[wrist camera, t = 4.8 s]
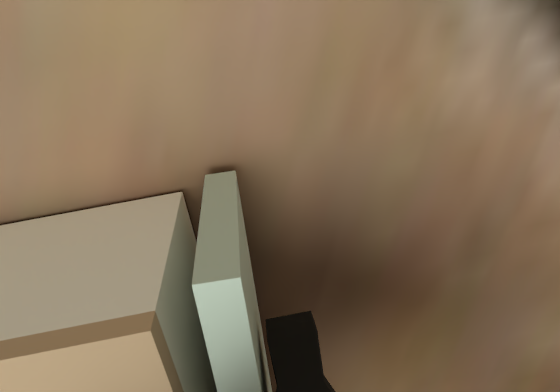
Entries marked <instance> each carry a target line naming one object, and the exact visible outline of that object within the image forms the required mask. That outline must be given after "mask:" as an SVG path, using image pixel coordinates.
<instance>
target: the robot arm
mask: <svg viewBox="0 0 560 392" xmlns="http://www.w3.org/2000/svg"><path fill="white" fill-rule="evenodd" d="M266 331H267V341H268V346H269V351H270V355H271V360H272V365H273V369H274V374H275V378H276V383H277V389H276V392H335V391H334V389H333V388H332V386H331V385H330V383H329V382H328V381H327V379H326V378H325V376H324V374H323V367H322V361H321V354H320V347H319V340H318V334H317V329H316V325H315V322H314V319H313V316H312V313H311V311H307V312H302V313H297V314H292V315H287V316H282V317H276V318H271V319H266Z"/></svg>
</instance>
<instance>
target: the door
mask: <svg viewBox="0 0 560 392" xmlns="http://www.w3.org/2000/svg"><path fill="white" fill-rule="evenodd" d="M192 289H193V293H194V297H195V301H196V305H197V310H198V314H199V318H200V322H201V326H202V330H203V334H204V339H205V343H206V347H207V351H208V355H209V359H210V363H211V368H212V372H213V376H214V380H215V384H216V388H217V392H272V387H271V381H270V375H269V369H268V363H267V357H266V351H265V345H264V339H263V333H262V327H261V321H260V315H259V309H258V303H257V297H256V291H255V285H254V279H253V273H252V267H251V261H250V255H249V248H248V242H247V236H246V230H245V224H244V218H243V212H242V206H241V200H240V194H239V188H238V182H237V176H236V171H229V172H222V173H215V174H208V175H205V180H204V188H203V196H202V204H201V212H200V221H199V229H198V237H197V245H196V253H195V261H194V269H193V278H192Z"/></svg>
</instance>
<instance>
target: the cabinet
mask: <svg viewBox="0 0 560 392" xmlns="http://www.w3.org/2000/svg"><path fill="white" fill-rule="evenodd" d="M196 245H197V243H196V239H195V235H194V232H193V228H192V225H191V221H190V218H189V214H188V210H187V207H186V203H185V200H184V196H183V192H177V193H172V194H166V195H161V196H156V197H150V198H145V199H139V200H134V201H129V202H123V203H118V204H113V205H107V206H102V207H97V208H91V209H86V210H81V211H75V212H70V213H65V214H59V215H54V216H49V217H43V218H38V219H32V220H27V221H22V222H16V223H11V224H6V225H0V392H217V388H216V384H215V380H214V376H213V372H212V368H211V363H210V359H209V355H208V351H207V347H206V343H205V339H204V334H203V330H202V326H201V322H200V318H199V314H198V310H197V305H196V301H195V297H194V293H193V289H192V278H193V269H194V261H195V253H196Z"/></svg>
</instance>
